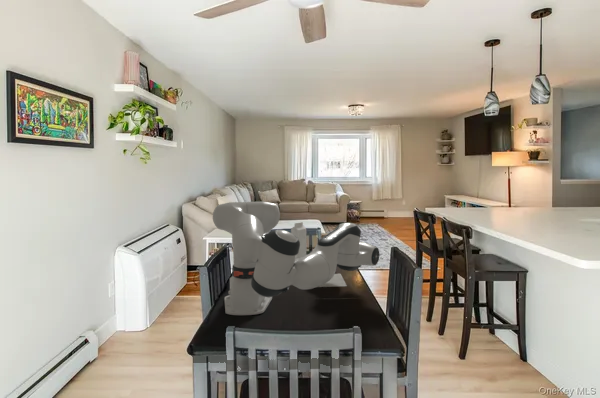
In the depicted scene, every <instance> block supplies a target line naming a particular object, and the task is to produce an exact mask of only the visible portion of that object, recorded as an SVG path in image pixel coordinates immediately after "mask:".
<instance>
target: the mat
mask: <svg viewBox="0 0 600 398" xmlns="http://www.w3.org/2000/svg"><path fill="white" fill-rule="evenodd" d="M344 279H345V278H343V276H342V274H341V273H335V274H334V276H333V277H332V278H331V279H330V280H329V281H328V282H326V283H325V284H323V285H321V286H318V287H317V288H322V287H323V288H327V287H329V288H330V287H332V288H334V287H337V288H338V287H347V286H348V285H347V283H346V281H345V280H344Z"/></svg>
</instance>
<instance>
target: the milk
mask: <svg viewBox="0 0 600 398" xmlns="http://www.w3.org/2000/svg"><path fill="white" fill-rule="evenodd" d="M303 224H304V223H303V222H301V221H300V222H294V225H293V226H292V227H291V228H290V233H292V234H294V235H295V236H296V237H297V238H298V240H299V241H300V248H299V252H298V254H297V256H296V259H299V258H301V257H303V256H305V255H307V228H306V227H305V225H303Z"/></svg>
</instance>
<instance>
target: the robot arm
mask: <svg viewBox="0 0 600 398" xmlns="http://www.w3.org/2000/svg"><path fill="white" fill-rule="evenodd" d="M280 219H281V213H280V209H279V207H278V206H277V204H275V203H273V202H269V201H238V202H237V201H235V202H234V201H233V202H232V201H229V202H225V203H220V204H218V205H216V206H215V208H214V210H213V212H212V221H213V224H214V226H215V227H216V228H217V229H218V230H221V231H225V232H227V233H229V234H231V243H232V248H233V249H232V251H233V252H232V254H233V257H232V258H233V260H232V261H233V264H232V269H231V270H232V271H231V272H232V273H231V275H232V276H231V277H229V290H228V291H227V294H228V295H226V296H224V309H225V310H224V311H225V314H227V315H231V316H252V315H259V314H263V313H264V312H265V311H266V310H267V308H268V307H269V305H270V303H271V301H272V299H273V297H275V296H277V297H278V296H279V295H281V294H282V293H287V292H288V291H289V290H290V286H294V287H295V288H297V289H299V290H312V289H314V288H319V287H318V286H321V285H323V284H325V283H326V282H328V281H329V280H330V279H331V278H332V277H333V276H334V274H336V271H337V267H338V268H339V269H340V270H343V271H347V272H353V271H357V270H358V269H359V268H361V267H362V266H368V267H369V266H370V267H375V266H377V265H378V262H379V260H380V250H379V248H378V247H377V246H375V245H373V244H370V243H367V242H362V241H361V235H362V231H361V228H360V227H359V226H358V225H357V224H356V223H353V222H343V223H339V224H338V225H337V226H336V227H335V228H334V229H333V230H331V231H330V232H327V233H328V234H327V235H325V236H324V237H322V238H321V237H320V239H319V241H318V242H317V244H316V245H315V247H314V248H313V250H311V251H310V252H309V253H306V255H305V256H303V257H301V258H299V259H296V256H297V254H298V252H299V248H300V241H299V240H298V238H297V237H296V236H295V235H294V234H292V233H291V231H287V230H284V229H275V228H276V226H277V225H278V224H279V222H280ZM273 229H274V230H273Z"/></svg>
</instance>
